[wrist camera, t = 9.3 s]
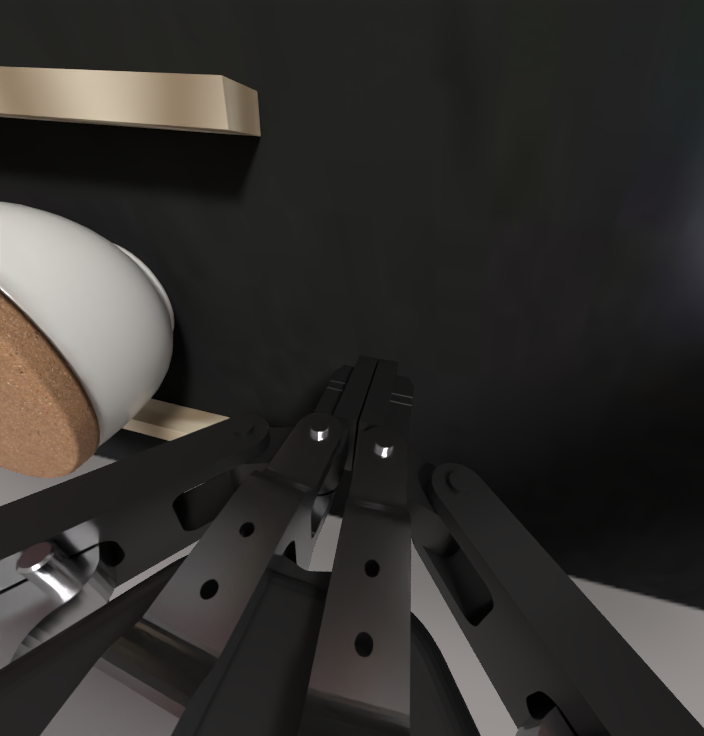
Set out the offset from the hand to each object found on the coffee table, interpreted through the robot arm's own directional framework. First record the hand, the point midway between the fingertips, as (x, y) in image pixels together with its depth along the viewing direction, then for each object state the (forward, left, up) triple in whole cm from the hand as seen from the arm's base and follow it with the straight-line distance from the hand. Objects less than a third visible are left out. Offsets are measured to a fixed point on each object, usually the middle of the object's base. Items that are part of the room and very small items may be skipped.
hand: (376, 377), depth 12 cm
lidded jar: (+15, 0, -3) cm, 15 cm away
